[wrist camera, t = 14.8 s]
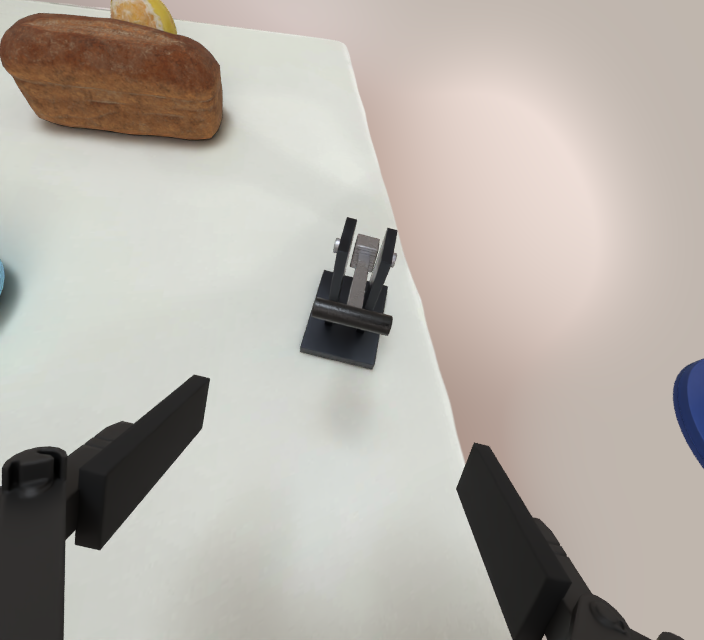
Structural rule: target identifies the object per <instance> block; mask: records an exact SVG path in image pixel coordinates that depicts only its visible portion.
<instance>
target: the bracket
mask: <svg viewBox="0 0 704 640" xmlns="http://www.w3.org/2000/svg"><path fill="white" fill-rule="evenodd" d="M356 223H357V220H356V219H353V218H349V217H347V219H346V222H345V226H344V229H343V233H342V236H341V239H339V238H336V241H335V245H334V249H333V252H334V253H337V255H336V261H335V266H334V272H330V271H326V270H324V272H323V275H322V278H321V282H320V285H319V288H318V291H317V295H316V297H319V298H323V299H327V300H331V301H335V302H339V303H343V304H346V305H347V301H348V297H349V293H350V289H351V285H352V280H353V277H349V276H346V275H345V272H346V267H347V263H348V258H349V254H350V250H351V245H352V241H353V236H354V232H355V227H356ZM396 236H397V230H394V229H390V228H387V231H386V234H385V237H384V240H383V243H382V246H381V249H380V252H379V255H378V258H377V261H376V263H375V266H374V269H373V272H372V275H371V278H370V281H366V287H365V293H364V299H363V305H362V309H366V310H370V311H374V312H378V313H382V314H383V312H384V307H385V301H386V295H387V289H388V286H385V285H383V284H384V282H385V279H386V277H387V275H388V272H389V270H390V267H394V264H395V261H396V257H397V254H396V253H394V248H395V242H396ZM315 299H316V298H315ZM313 305H314V304H313ZM312 309H313V307H312ZM311 314H312V311H311ZM311 314H310V317H309V320H308V324H307V327H306V330H305V333H304V337H303V340H302V343H301V346H300V352H304V353H308V354H312V355H316V356H320V357H324V358H328V359H332V360H336V361H340V362H344V363H348V364H352V365H357V366H361V367H365V368H369V369H373V367H374V364H375V359H376V353H377V347H378V341H379V336H380V334H377V333H373V332H369V331H365V330H361V329H358V328H354V327H350V326H346V325H342V324H338V323H334V322H330V321H326V320H322V319H318V318H314V317H312V316H311Z"/></svg>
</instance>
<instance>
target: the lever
mask: <svg viewBox="0 0 704 640" xmlns="http://www.w3.org/2000/svg"><path fill="white" fill-rule="evenodd" d="M379 241H380V239H377V238H373V237H369V236H366V235H362V234H358V236H357V240H356V243H355V247H354V251H353V255H352V259H351V263H350V267H352V268H355V272H354V276H353V280H352V285H351V289H350V293H349V297H348V301H347V305H346V304H343V303H339V302H335V301H331V300H327V299H323V298H319V297H316V299H315V301H314V305H313V309H312V314H311V316H312V317H314V318H318V319H322V320H326V321H330V322H334V323H338V324H342V325H346V326H350V327H354V328H358V329H361V330H365V331H369V332H373V333H377V334H381V335H385V336H388V334H389V332H390V329H391V326H392V320H393V317H392V316H390V315H386V314H382V313H378V312H374V311H370V310H366V309H362V305H363V299H364V293H365V287H366V281H367V275H368V272H372V271H373V267H374V264H375V260H376V257H377V253H378V249H379Z"/></svg>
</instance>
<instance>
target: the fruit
mask: <svg viewBox="0 0 704 640" xmlns="http://www.w3.org/2000/svg"><path fill="white" fill-rule="evenodd" d="M111 18H113V19H118V20H123V21H127V22H131V23H135V24H140V25H144V26H148V27H152V28H155V29H159V30H162V31H165V32H169V33H172V34H177V31H176V27H175V23H174V21H173V19H172V16H171V14H170V13H169V11H168V9H167V8H166V7H165V5H164V4H163V3H162V2H161V1H160V0H111Z"/></svg>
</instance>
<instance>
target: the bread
mask: <svg viewBox="0 0 704 640" xmlns="http://www.w3.org/2000/svg"><path fill="white" fill-rule="evenodd" d="M0 58H1V62H2V65H3V67H4V68H5V69H6V70H7V72H8V73H9V74H10V75H12V76H13V78H14V80H15V82H16V84H17V86H18V87H19V89H20V91H21V92H22V94H23V95H24V97H25V98H26V100H27V101H28V103H29V104H30V106H31V108H32V109H33V110H34V112H35V113H36V114H37V115H38V117H39V118H42V119H44V120H47V121H49V122H52V123H56V124H59V125H63V126H69V127H77V128H91V129H100V130H107V131H114V132H120V133H126V134H138V135H157V136H167V137H175V138H181V139H188V140H199V139H209V138H211V137H212V136H213V135H214V134H215V133H216V132H217V130H218V128H219V126H220V123H221V120H222V106H223V98H222V84H221V76H220V65H219V64H218V62H217V61H216V60H215V58H214V57H213V55H212V54H211V53H210V52H209V51H208V50H207V49H206V48H205V47H204V46H202V45H201V44H200V43H198V42H196V41H194V40H192V39H191V38H189V37H185V36H181V35H177V34H172V33H169V32H165V31H162V30H159V29H155V28H152V27H148V26H144V25H140V24H135V23H131V22H127V21H123V20H118V19H113V18H96V17H87V16H76V15H66V14H49V13H38V14H34V15H30V16H27V17H25V18H22V19H20V20H18V21H17V22H16V23H15V24H14V25H13V26H11V27H10V28H9V29H8V30H7V31H6V32H5V34H4V35H3V37H2V39H1V43H0Z"/></svg>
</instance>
